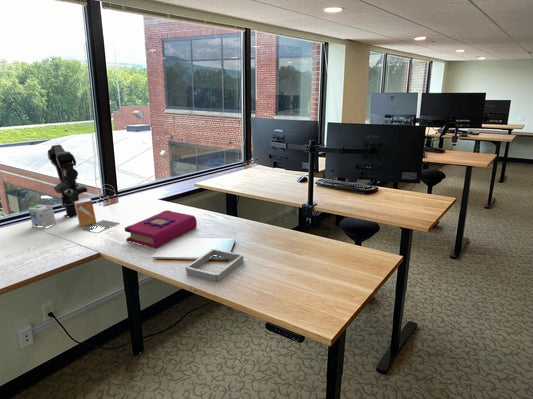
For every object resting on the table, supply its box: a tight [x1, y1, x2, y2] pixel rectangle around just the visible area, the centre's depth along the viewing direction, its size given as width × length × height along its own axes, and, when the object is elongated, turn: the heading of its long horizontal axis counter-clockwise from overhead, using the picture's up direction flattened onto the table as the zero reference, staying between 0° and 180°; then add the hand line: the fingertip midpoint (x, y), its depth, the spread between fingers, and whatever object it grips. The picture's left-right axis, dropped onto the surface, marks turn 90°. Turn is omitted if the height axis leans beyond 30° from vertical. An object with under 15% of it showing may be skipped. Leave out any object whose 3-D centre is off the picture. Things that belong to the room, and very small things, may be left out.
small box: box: [74, 198, 97, 227], centre depth 207 cm, size 8×6×13 cm
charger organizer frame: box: [185, 248, 244, 283], centre depth 154 cm, size 16×18×3 cm
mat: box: [81, 219, 120, 232], centre depth 205 cm, size 13×14×1 cm
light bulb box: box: [28, 204, 57, 227], centre depth 209 cm, size 11×7×11 cm, turn 68°
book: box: [124, 210, 198, 249], centre depth 189 cm, size 21×28×8 cm
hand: (74, 203), depth 210 cm, fingers closed
